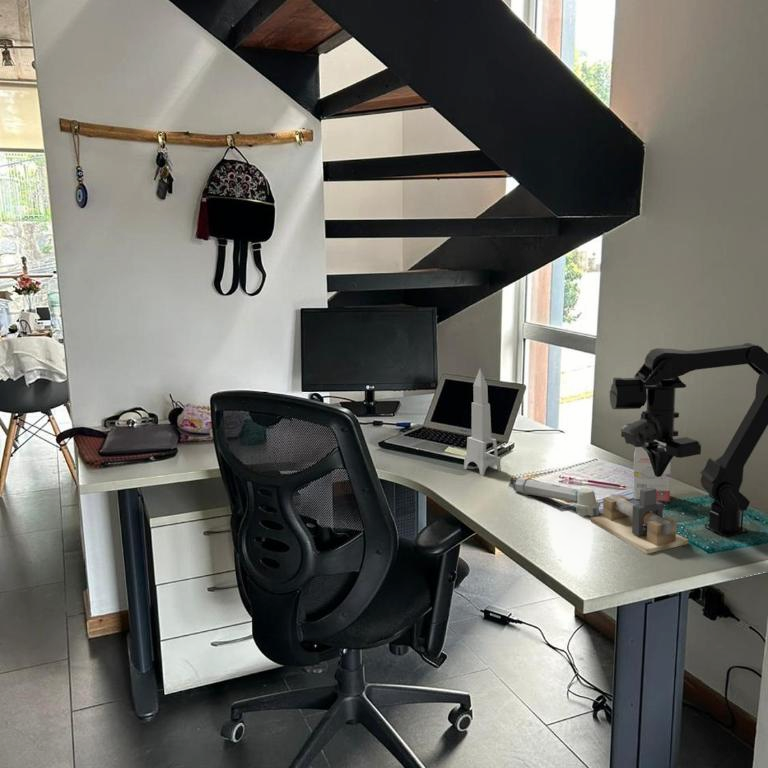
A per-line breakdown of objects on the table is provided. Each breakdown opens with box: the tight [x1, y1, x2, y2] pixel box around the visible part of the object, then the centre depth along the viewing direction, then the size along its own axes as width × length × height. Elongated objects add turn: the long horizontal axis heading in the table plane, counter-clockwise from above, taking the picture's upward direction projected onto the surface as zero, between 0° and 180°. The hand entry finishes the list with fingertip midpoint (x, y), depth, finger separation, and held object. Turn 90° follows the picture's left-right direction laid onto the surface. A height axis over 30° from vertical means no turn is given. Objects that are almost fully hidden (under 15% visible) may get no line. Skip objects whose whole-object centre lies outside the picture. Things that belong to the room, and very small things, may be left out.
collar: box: [632, 487, 664, 536], centre depth 158 cm, size 6×2×10 cm, turn 110°
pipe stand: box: [590, 493, 689, 555], centre depth 161 cm, size 11×19×6 cm, turn 20°
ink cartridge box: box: [633, 446, 671, 503], centre depth 180 cm, size 9×5×15 cm, turn 68°
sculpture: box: [463, 368, 502, 477], centre depth 206 cm, size 7×8×30 cm
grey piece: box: [512, 477, 601, 518], centre depth 181 cm, size 5×7×25 cm
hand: (658, 476), depth 159 cm, fingers closed
